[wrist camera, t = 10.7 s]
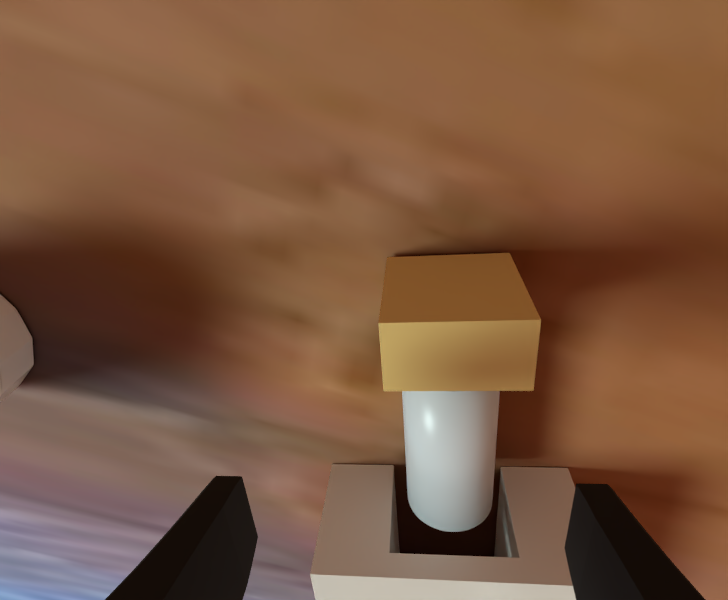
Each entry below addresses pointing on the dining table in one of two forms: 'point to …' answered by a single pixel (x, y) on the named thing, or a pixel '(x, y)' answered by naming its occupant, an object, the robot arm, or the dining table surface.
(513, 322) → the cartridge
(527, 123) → the dining table surface
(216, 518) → the robot arm
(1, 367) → the white cup
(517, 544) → the housing
